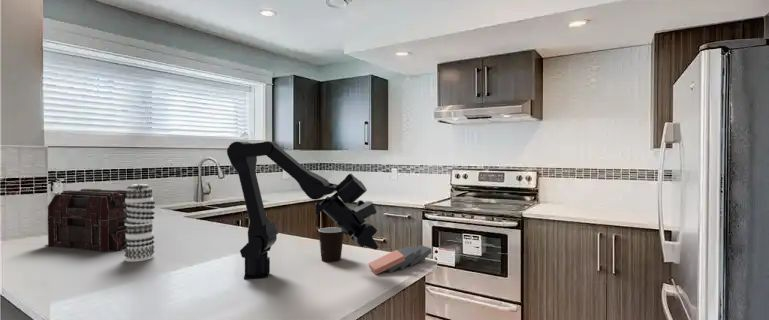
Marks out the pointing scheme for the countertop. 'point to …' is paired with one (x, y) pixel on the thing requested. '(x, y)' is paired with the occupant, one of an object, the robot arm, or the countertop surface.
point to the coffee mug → (331, 243)
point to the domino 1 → (386, 262)
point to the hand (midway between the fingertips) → (376, 248)
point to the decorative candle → (139, 222)
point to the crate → (87, 220)
